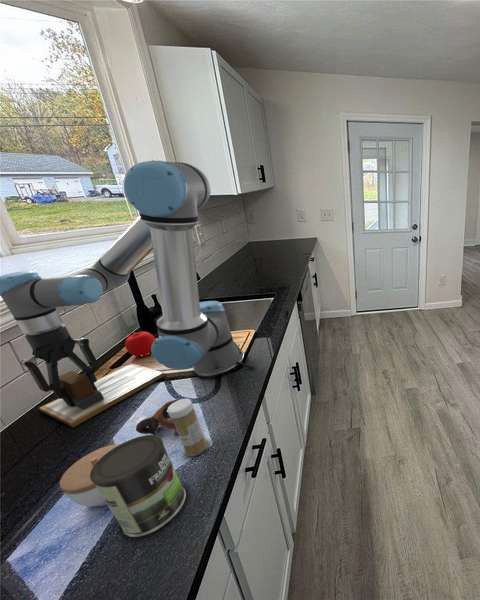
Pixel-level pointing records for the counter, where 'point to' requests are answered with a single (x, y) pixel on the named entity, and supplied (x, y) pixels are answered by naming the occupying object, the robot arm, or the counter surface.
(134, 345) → the fruit
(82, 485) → the trinket box
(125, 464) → the coffee can
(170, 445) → the counter surface
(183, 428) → the sprinkles bottle
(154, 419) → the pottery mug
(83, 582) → the counter surface
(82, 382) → the eraser
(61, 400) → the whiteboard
